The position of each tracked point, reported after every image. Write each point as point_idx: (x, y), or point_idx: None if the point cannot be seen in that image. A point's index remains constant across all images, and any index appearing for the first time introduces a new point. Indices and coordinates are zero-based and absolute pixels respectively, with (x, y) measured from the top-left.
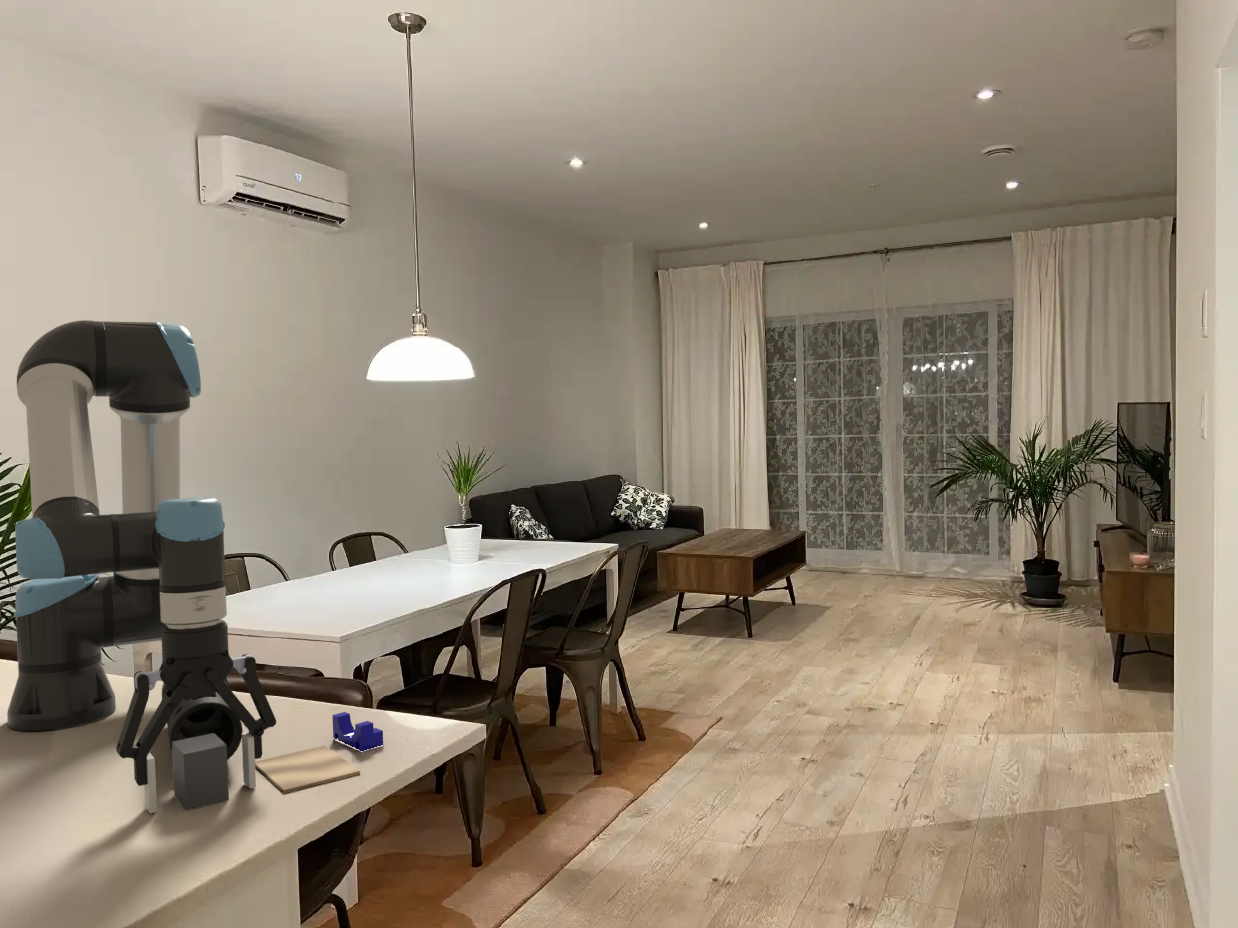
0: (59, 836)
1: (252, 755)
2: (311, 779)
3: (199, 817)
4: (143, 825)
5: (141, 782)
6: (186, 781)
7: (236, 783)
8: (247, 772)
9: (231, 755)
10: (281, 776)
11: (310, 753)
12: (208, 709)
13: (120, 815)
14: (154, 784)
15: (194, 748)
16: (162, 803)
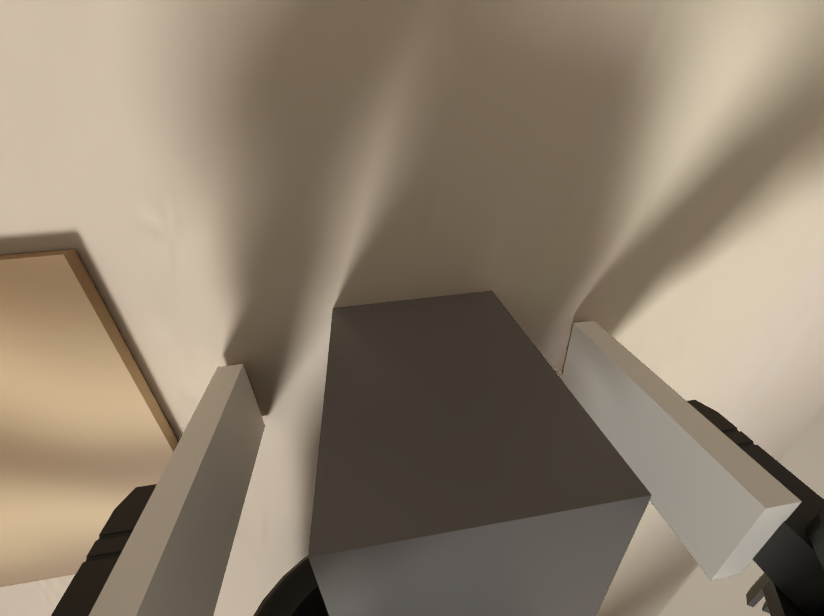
0: (815, 298)
1: (165, 491)
2: None
3: (470, 188)
4: (642, 239)
5: (696, 409)
6: (533, 360)
7: (291, 435)
8: (233, 427)
9: (289, 572)
10: (104, 412)
11: (7, 553)
12: None
13: (644, 359)
14: (648, 388)
15: (539, 561)
16: None
